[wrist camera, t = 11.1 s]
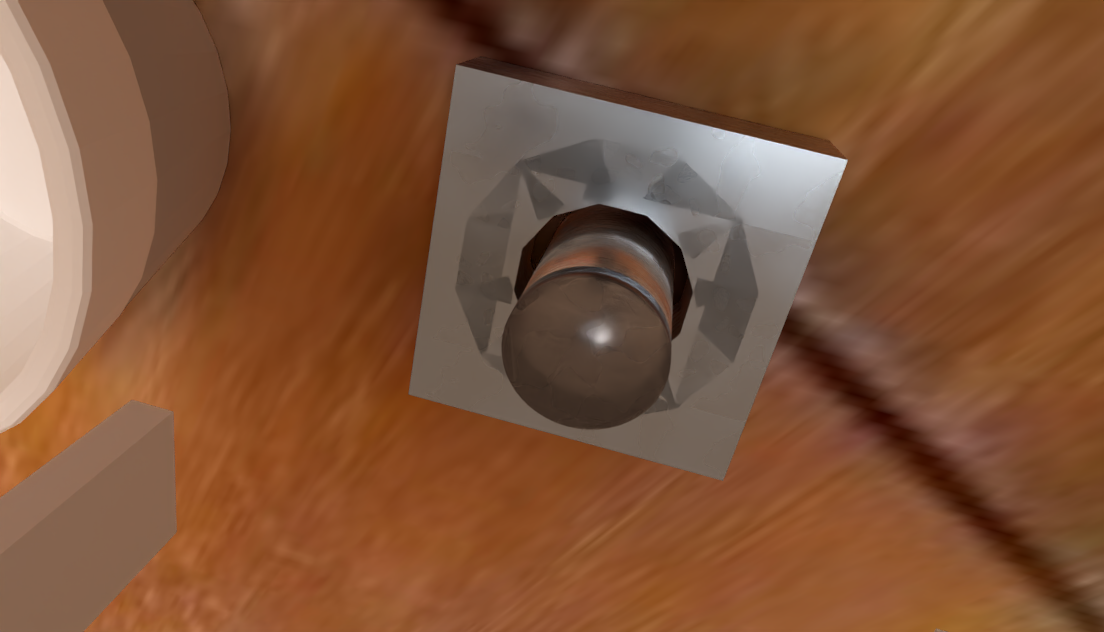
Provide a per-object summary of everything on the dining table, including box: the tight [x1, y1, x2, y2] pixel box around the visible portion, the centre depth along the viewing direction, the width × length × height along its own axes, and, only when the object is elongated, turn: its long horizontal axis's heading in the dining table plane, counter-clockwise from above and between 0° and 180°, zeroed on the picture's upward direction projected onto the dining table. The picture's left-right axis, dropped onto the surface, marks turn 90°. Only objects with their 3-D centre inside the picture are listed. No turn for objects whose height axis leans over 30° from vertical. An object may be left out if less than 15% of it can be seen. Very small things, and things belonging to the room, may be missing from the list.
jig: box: [409, 57, 848, 481], centre depth 26 cm, size 12×12×3 cm
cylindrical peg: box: [501, 204, 675, 430], centre depth 23 cm, size 5×5×8 cm
